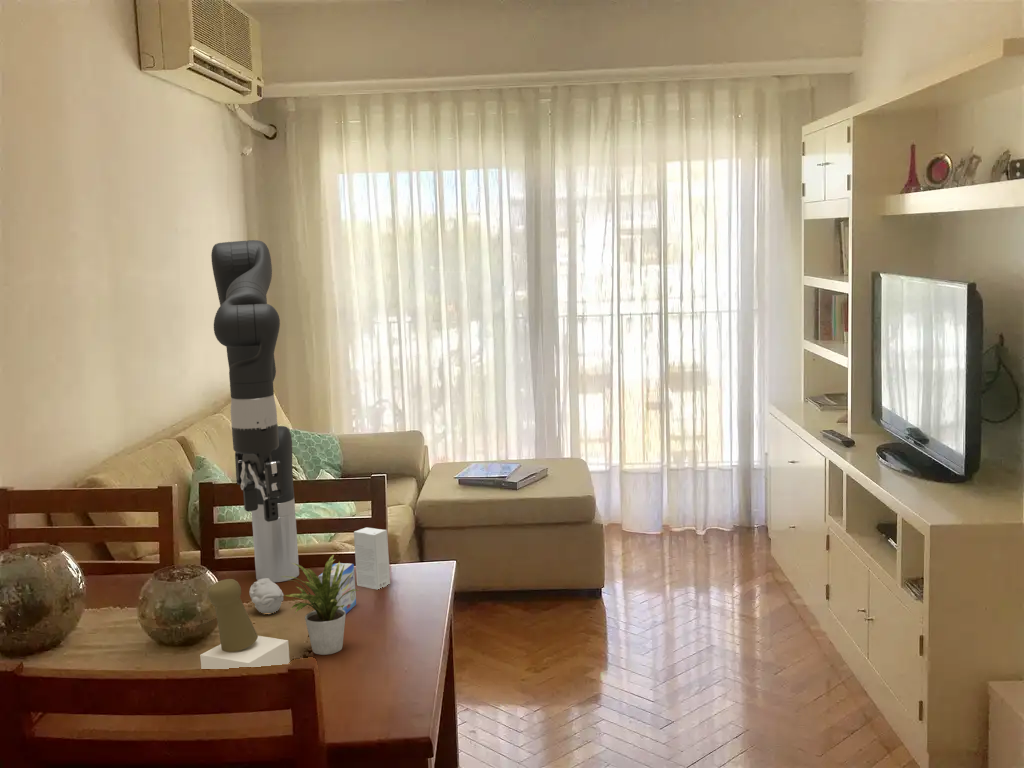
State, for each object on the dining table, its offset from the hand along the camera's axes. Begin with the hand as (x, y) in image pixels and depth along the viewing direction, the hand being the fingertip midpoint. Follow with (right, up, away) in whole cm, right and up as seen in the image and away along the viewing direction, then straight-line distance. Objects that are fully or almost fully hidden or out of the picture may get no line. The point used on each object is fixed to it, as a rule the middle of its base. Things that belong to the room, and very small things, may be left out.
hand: (261, 515), depth 163 cm
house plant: (+10, -24, +6) cm, 27 cm away
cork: (-2, -21, -5) cm, 21 cm away
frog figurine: (-5, -23, +24) cm, 33 cm away
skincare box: (+14, -21, +39) cm, 46 cm away
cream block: (-1, -26, -5) cm, 27 cm away
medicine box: (+9, -22, +24) cm, 34 cm away
